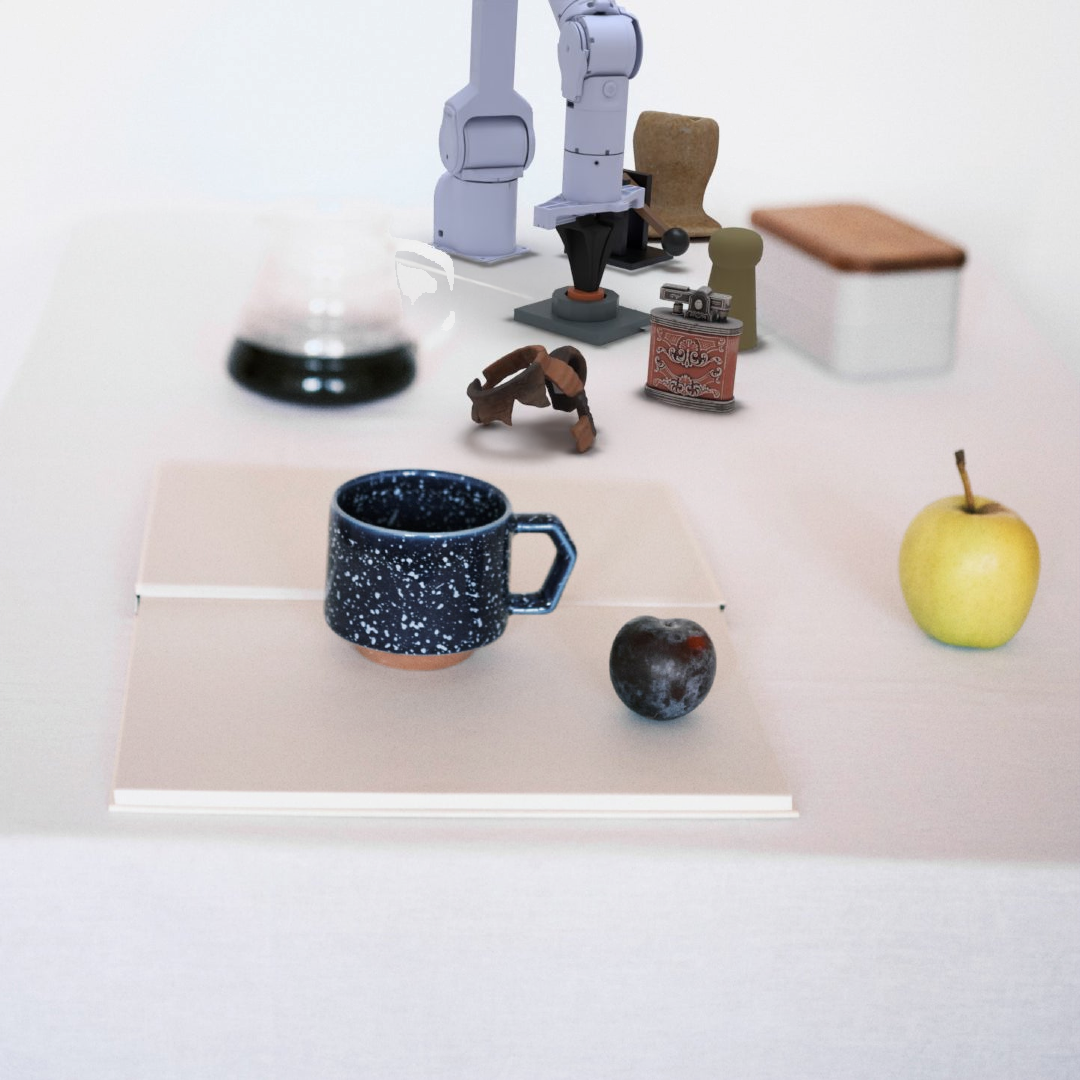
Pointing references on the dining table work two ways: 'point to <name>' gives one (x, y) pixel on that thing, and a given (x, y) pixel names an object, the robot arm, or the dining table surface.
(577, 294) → the button
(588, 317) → the button block
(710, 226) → the tan piece
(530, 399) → the brown curved pieces
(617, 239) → the robot arm
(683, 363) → the lighter
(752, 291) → the cork
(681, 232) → the lever
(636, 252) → the bracket
